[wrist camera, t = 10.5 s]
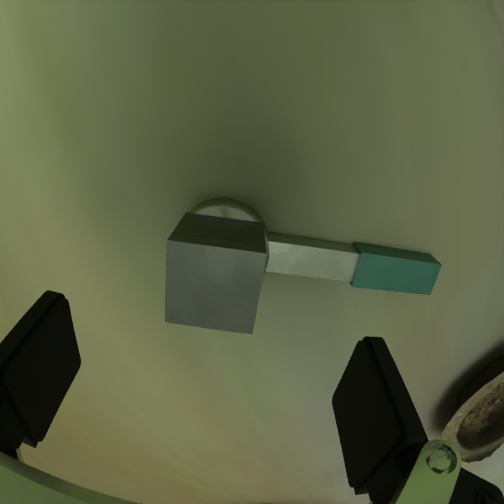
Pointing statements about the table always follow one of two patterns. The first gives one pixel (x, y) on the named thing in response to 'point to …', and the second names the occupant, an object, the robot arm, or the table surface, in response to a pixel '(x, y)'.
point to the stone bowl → (479, 416)
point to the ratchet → (336, 256)
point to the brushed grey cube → (214, 272)
